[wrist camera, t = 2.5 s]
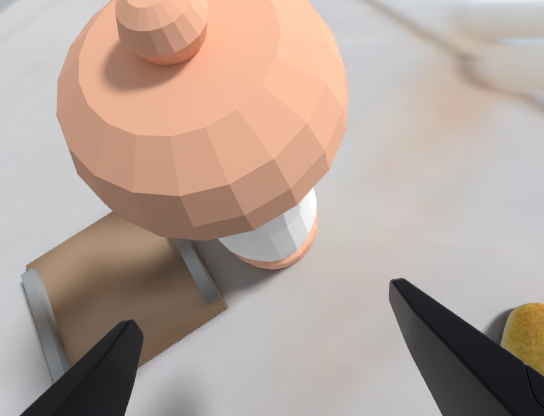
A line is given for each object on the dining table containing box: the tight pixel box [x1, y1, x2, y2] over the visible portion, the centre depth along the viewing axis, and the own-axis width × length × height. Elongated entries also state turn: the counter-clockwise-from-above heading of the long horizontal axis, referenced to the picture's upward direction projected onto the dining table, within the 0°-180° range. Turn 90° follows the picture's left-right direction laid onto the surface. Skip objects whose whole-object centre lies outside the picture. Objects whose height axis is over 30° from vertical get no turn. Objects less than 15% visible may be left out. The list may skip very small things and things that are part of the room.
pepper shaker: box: [57, 0, 348, 270], centre depth 13 cm, size 7×7×19 cm
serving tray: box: [21, 211, 228, 383], centre depth 22 cm, size 13×14×1 cm
